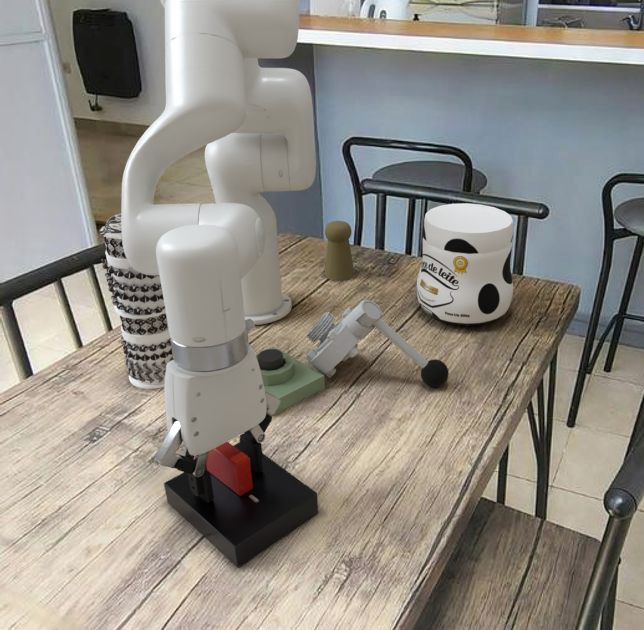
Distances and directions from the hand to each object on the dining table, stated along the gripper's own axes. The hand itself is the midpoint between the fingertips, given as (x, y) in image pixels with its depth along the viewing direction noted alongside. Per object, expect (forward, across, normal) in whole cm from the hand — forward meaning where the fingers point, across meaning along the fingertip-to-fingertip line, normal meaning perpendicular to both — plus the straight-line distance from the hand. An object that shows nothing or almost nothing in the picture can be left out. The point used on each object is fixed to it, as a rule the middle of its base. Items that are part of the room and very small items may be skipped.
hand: (228, 480), depth 78 cm
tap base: (+3, 0, +2) cm, 4 cm away
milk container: (+3, -57, -11) cm, 58 cm away
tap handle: (0, 0, 0) cm, 0 cm away
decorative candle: (+3, -9, -31) cm, 32 cm away
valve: (+3, -31, -7) cm, 32 cm away
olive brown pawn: (+3, -53, -39) cm, 65 cm away
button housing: (+3, -18, -16) cm, 25 cm away
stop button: (-1, -18, -16) cm, 24 cm away
